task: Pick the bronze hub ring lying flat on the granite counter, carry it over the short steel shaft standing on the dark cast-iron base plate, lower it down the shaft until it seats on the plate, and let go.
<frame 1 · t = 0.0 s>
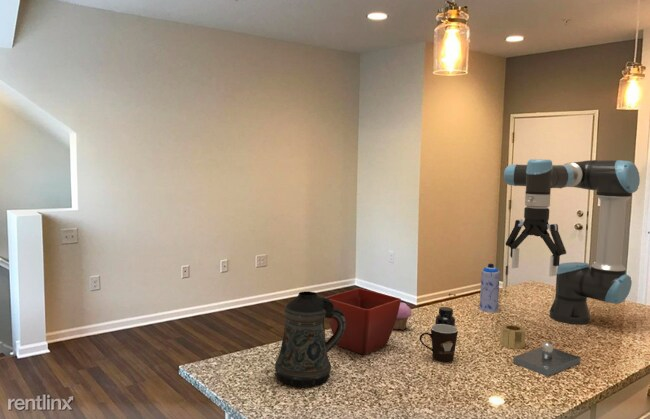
hand: (533, 271, 167), 28 cm above the worktop, fingers open, 13 cm apart
supplement bottle: (444, 342, 180), on the worktop
shaft stand: (546, 363, 163), on the worktop
hub: (512, 344, 178), on the worktop
aerosol can: (488, 310, 220), on the worktop
cupcake: (398, 329, 193), on the worktop
beer stein: (307, 375, 151), on the worktop
plant pot: (361, 346, 175), on the worktop
coffee mug: (438, 358, 166), on the worktop
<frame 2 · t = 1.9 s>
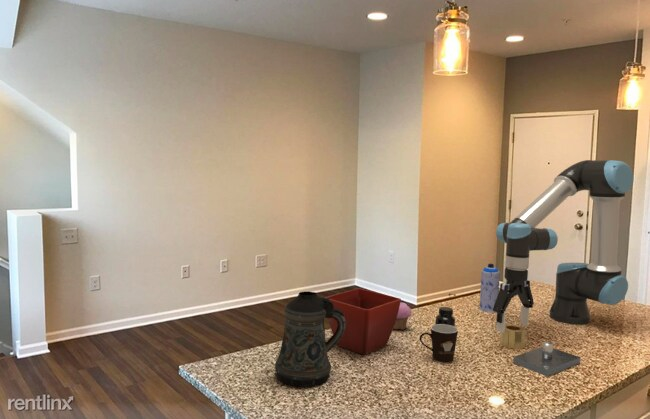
hand: (512, 328, 178), 6 cm above the worktop, fingers open, 13 cm apart
nothing on the worktop moved.
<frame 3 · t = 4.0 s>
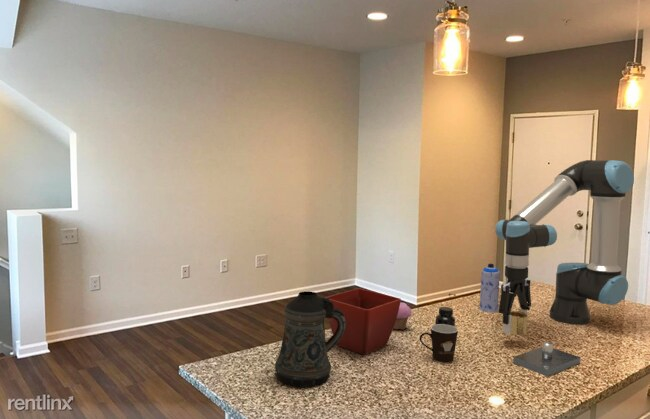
hand: (514, 329, 178), 5 cm above the worktop, fingers closed on hub, 8 cm apart
hub: (514, 330, 178), point 5 cm above the worktop, touching gripper
everything else where it was.
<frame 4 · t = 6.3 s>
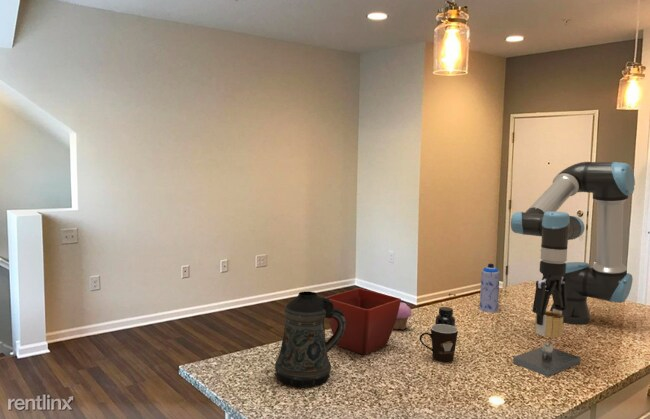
hand: (548, 332, 161), 10 cm above the worktop, fingers closed on hub, 8 cm apart
hub: (548, 332, 161), point 10 cm above the worktop, touching gripper
everything else where it was.
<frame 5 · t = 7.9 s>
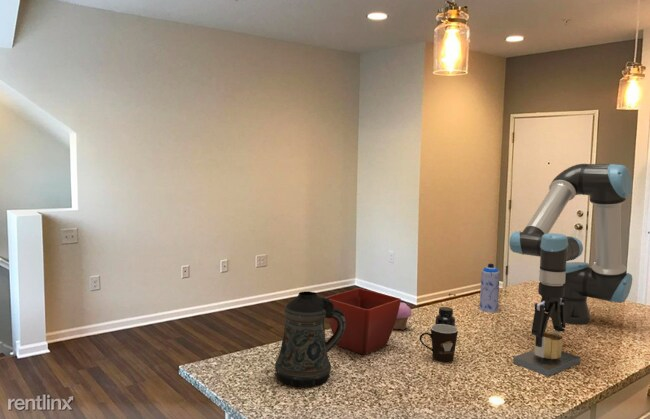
hand: (547, 353, 162), 3 cm above the worktop, fingers closed on hub, 8 cm apart
hub: (547, 353, 162), point 3 cm above the worktop, touching gripper
everything else where it was.
when the fingers open (3 cm above the worktop, at t = 8.9 s): hub stays where it is, resting on shaft stand.
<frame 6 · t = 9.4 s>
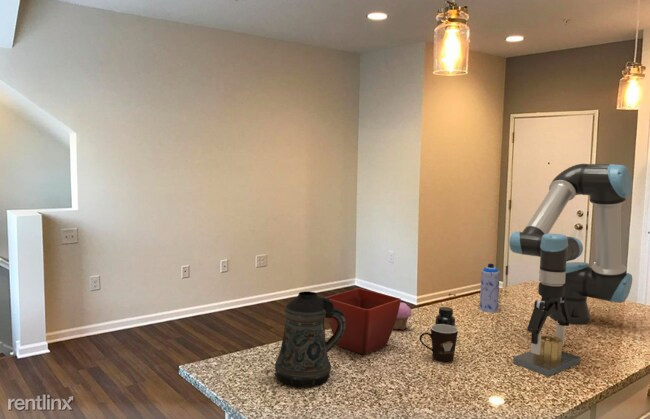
hand: (547, 348, 162), 5 cm above the worktop, fingers open, 13 cm apart
hub: (547, 356, 163), point 2 cm above the worktop, touching shaft stand
everything else where it was.
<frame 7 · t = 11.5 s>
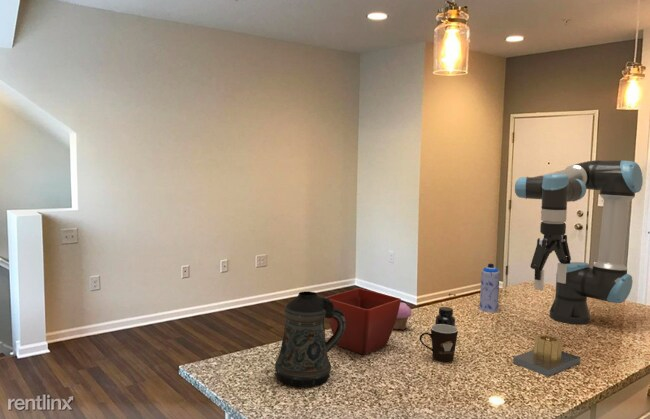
hand: (550, 286, 167), 23 cm above the worktop, fingers open, 13 cm apart
nothing on the worktop moved.
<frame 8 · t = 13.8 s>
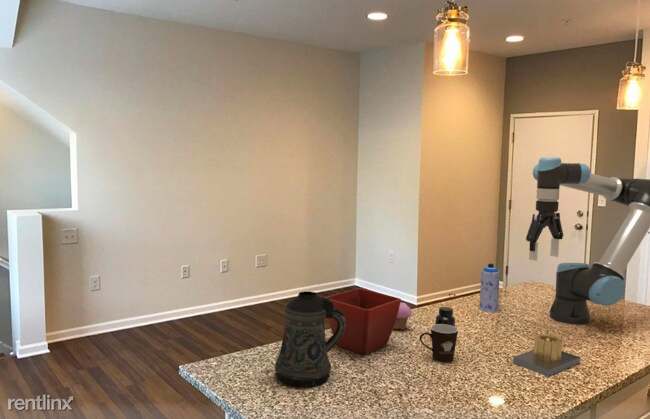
hand: (543, 258, 187), 29 cm above the worktop, fingers open, 13 cm apart
nothing on the worktop moved.
at the end: hub 0.1 cm off-centre on the shaft stand, point 2.0 cm above the shaft stand's base; the gripper is holding nothing; hub tilted 0° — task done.
